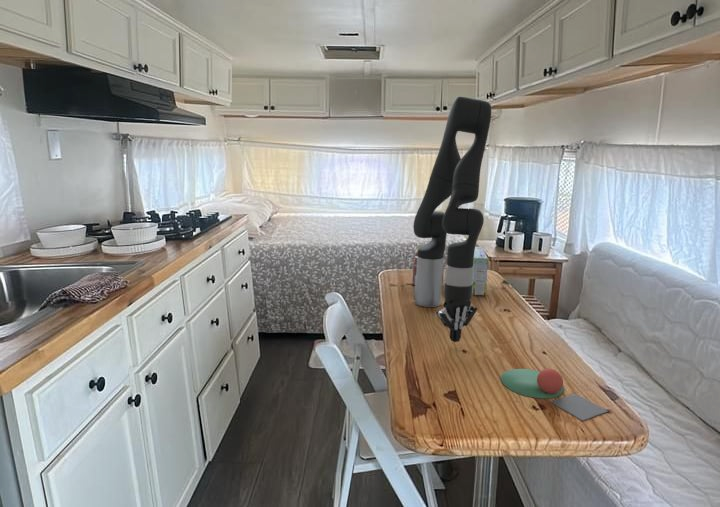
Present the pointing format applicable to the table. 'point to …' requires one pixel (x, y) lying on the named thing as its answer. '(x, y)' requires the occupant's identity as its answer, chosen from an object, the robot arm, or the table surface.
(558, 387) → the ball
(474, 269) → the snack box
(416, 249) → the canister
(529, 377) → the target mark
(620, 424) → the table surface
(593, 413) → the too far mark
